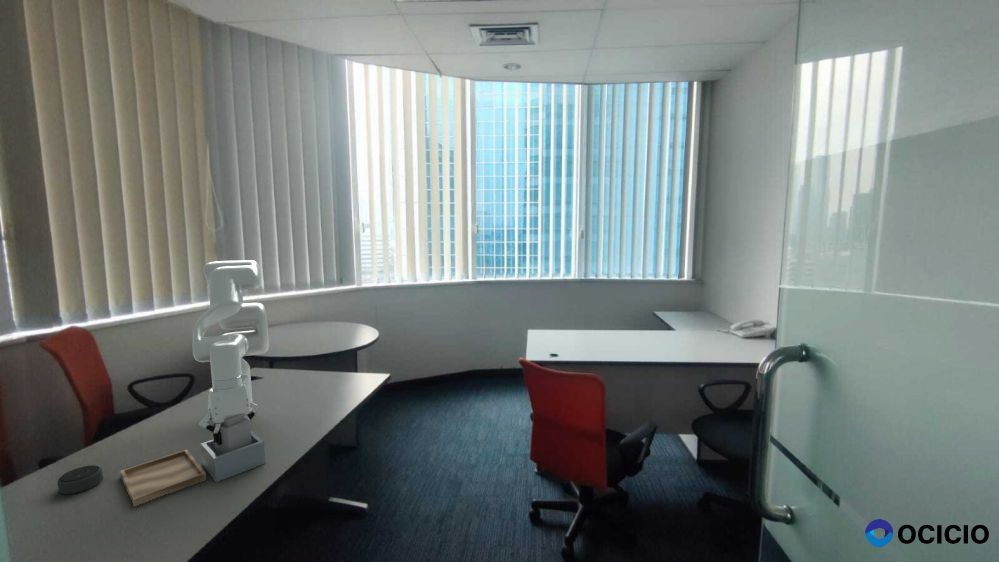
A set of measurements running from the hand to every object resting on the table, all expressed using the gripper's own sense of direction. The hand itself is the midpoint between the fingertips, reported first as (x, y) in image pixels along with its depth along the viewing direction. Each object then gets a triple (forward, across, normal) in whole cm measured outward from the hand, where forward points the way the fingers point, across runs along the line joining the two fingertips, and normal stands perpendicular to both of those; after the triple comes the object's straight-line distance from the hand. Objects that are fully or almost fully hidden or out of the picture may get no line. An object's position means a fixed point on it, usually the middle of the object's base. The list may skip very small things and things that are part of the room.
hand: (232, 438), depth 130 cm
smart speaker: (+9, +32, -20) cm, 39 cm away
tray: (+8, +16, -7) cm, 19 cm away
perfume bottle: (+8, 0, 0) cm, 8 cm away
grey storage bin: (+8, 0, 0) cm, 8 cm away
